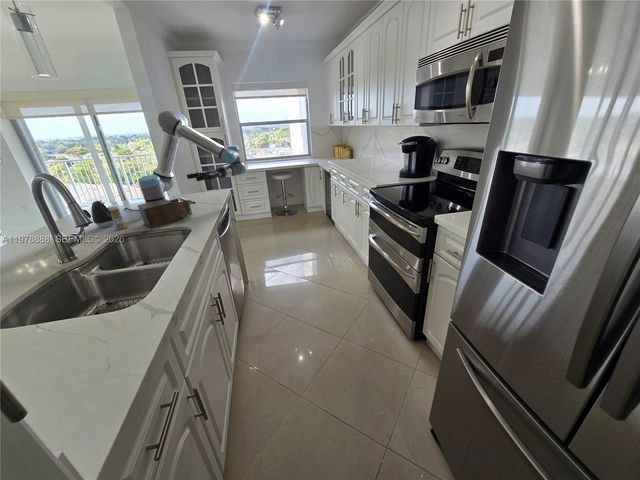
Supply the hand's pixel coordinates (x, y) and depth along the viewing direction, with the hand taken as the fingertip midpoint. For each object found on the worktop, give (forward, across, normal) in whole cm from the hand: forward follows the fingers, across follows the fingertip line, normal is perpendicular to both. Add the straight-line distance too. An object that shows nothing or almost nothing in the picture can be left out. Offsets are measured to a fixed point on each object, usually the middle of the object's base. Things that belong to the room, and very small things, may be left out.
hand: (191, 177), depth 158 cm
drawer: (+12, 0, -21) cm, 24 cm away
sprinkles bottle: (+42, +9, -22) cm, 48 cm away
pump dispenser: (+46, +23, -22) cm, 56 cm away
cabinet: (+24, 0, -22) cm, 32 cm away
